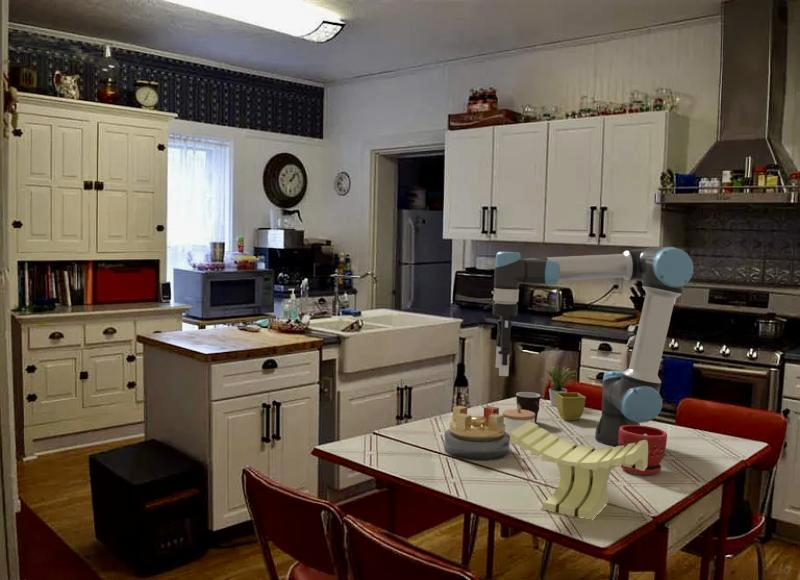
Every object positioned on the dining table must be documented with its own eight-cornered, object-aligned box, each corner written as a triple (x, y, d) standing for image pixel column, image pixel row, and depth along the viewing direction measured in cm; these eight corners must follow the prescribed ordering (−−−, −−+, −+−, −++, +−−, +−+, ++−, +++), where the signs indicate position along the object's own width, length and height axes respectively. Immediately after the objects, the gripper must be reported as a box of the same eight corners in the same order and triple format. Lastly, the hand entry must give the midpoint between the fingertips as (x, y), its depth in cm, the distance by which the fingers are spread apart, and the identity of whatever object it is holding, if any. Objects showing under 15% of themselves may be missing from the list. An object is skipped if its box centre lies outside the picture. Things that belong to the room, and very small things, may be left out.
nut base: (522, 451, 227) (522, 434, 226) (483, 465, 212) (483, 447, 212) (471, 437, 240) (471, 422, 240) (431, 449, 226) (431, 433, 225)
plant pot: (660, 480, 202) (662, 438, 201) (612, 472, 208) (614, 431, 207) (668, 468, 213) (670, 427, 212) (622, 460, 219) (624, 421, 218)
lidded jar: (536, 440, 239) (538, 412, 238) (504, 439, 239) (505, 411, 238) (531, 431, 249) (532, 404, 249) (500, 430, 250) (501, 403, 249)
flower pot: (554, 416, 272) (555, 392, 271) (576, 415, 273) (577, 392, 272) (561, 422, 263) (562, 397, 263) (585, 422, 264) (586, 397, 264)
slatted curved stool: (645, 507, 182) (648, 436, 180) (630, 528, 168) (633, 452, 166) (530, 484, 197) (532, 419, 195) (507, 502, 183) (510, 432, 182)
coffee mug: (514, 418, 267) (515, 391, 266) (538, 419, 266) (539, 392, 265) (515, 426, 255) (516, 398, 255) (540, 428, 254) (541, 399, 254)
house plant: (569, 411, 279) (571, 369, 278) (534, 406, 286) (536, 365, 285) (580, 404, 291) (582, 364, 290) (546, 400, 298) (548, 360, 297)
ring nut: (515, 434, 226) (516, 412, 226) (482, 445, 214) (483, 421, 213) (472, 423, 238) (472, 402, 237) (438, 433, 225) (438, 410, 225)
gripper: (490, 298, 235) (486, 363, 236) (496, 305, 210) (492, 378, 212) (513, 299, 234) (510, 365, 236) (522, 307, 210) (518, 380, 211)
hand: (501, 371), depth 224 cm, fingers open, 13 cm apart
